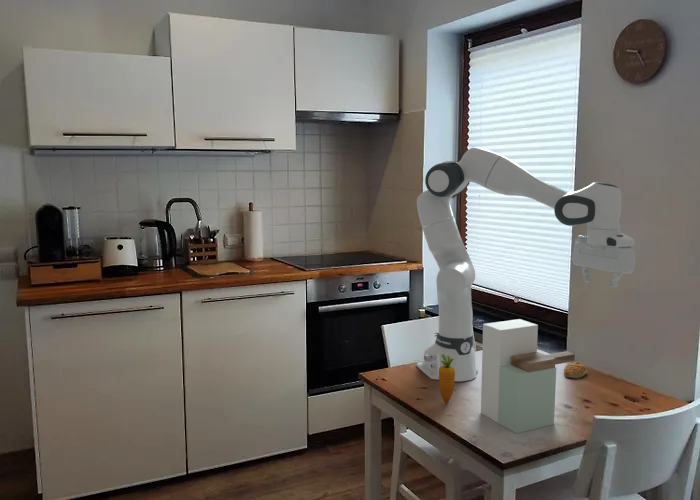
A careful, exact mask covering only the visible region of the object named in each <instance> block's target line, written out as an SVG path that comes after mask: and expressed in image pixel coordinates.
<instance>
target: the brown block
mask: <svg viewBox="0 0 700 500" xmlns="http://www.w3.org/2000/svg"><path fill="white" fill-rule="evenodd" d="M575 355H576V354H575V353H573V352H571V351H568V350H567V351H566V350H565V351H559V352H555V353H548V354H543V353H542V352H539V351H537V352H533V353H527V354H521V355H515V356H511V365H513V366H515V367H517V368H520V369H522V370H524V371H526V372H535V371H540V370H546V369H551V368H555V367H556V366H557V365H560V364H566V363H572V362H575V357H576V356H575Z"/></svg>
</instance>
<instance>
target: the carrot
mask: <svg viewBox="0 0 700 500" xmlns="http://www.w3.org/2000/svg"><path fill="white" fill-rule="evenodd" d="M442 357H443V359H444V360H443V361H442V360H441V362H442V363H443V364H444V365H445V366H441V367H440V368H439V380H438V381H439V382H438V385H439V391H440V395H441V399H442V401H443V403H444V404H445V405H447V404H448V403H449V402H450V400H451V398H452V395H453V392H454V387H455V381H454V380H455V370H454V368H453V367H451V366H450V364H451V362H452V361H453V358H451V359H450V356H447V358H448V362H447V359H446V356H445V354H442ZM444 362H445V363H444Z"/></svg>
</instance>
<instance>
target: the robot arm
mask: <svg viewBox="0 0 700 500" xmlns="http://www.w3.org/2000/svg"><path fill="white" fill-rule="evenodd" d="M424 180H425V181H424V183H425V186H426V189H427V190H425V191H423V192H421V193H420V194H419V195H418V196H417V198H416V209H417V214H418V218H419V222H420V225H421V228H422V231H423V235H424V238H425V240H426V243H427V247H428V249H429V250H428V251H430V252H431V254H432V256H433V258H434V260H435V262H436V264H437V266H438V268H439V270H438V273H437V276H436V294H437V295H436V296H437V303H438V304H437V305H438V332H435V333H434V337H436V339H435V342H434V343H433V344H431V346H428V348H425V350H424V353H423V360H421V361H418V362H417V363H416V367H417V368H418V369H419V370H420V371H422V373H424V374H425V375H426V376H427V377H428V378H429V379H431V380H437V381H439V368H440V367H441V366H445V365H444V364H443V363H442V362H441V360H442V361H443V360H444V359H443V357H442V354H445V356H446V359H447V362H448V358H447V356H450V359H451V358H453V361H452V362H451V364H450V366H451V367H453V368H454V370H455V380H454V382H467V381H471V380H473V379H476V377H477V373H478V372H479V368H478V367H476V366H477V363H476V350H475V348H474V347H473V346H474V340H475V339H474V334H473V304H472V286H473V284H474V282H475V280H476V270H475V267H474V265H473V262H472V260H471V258H470V255H469V253H468V251H467V248H466V246H465V244H464V242H463V239H462V237H461V233H460V231H459V228H458V225H457V222H456V218H455V217H454V213H453V210H452V207H451V200H452V199H455V197H457V196H458V195H459V194H461V193H462V192H464V191H465V190H466V189H467V188H468V187H469V185H470V183H475V184H477V185H479V186H481V187H483V188H484V189H487V190H489V191H491V192H494V193H498V194H499V195H504V196H513V197H514V196H517V197H519V196H520V197H524V198H529V199H532V200H533V201H534V200H535V201H536V202H539V203H541V204H543V205H545V206H548V207H550V208H552V209H553V210H554V216H555V217H556V219H557V221H559V223H561V224H563V225H565V226H569V227H575V226H579V225H585V224H586V225H587V227H586V228H587V229H586V232H587V233H586V235H582V234H581V235H578V236H577V237H576V238H575V239H574V246H573V248H572V249H573V250H572V255H571V261H572V263H573V265H574V266H577V267H579V266H580V267H581V272H582V274H583V276H584V279H583V280H584V282H585V283H592V282H593V276H592V275H591V273H590V270H591V269H595V270H600V271H606V272H612V275H613V276H614V277H613V279H612V280H609V287H610V288H618V287H619V281H620V280H621V278H622V277H623V275H628V274H632V273H633V272H634V271H635V269H636V252H635V249H634V248H633V247H634V246H635V245H636V241H635V239H634V238H633V237H630V236H629V235H627V234H625V233H623V232H621V224H620V217H621V214H622V193H621V190H620V188H619V187H618V186H617V185H616V184H612V183H609V182H608V183H607V182H604V181H594V182H591V184H589V185H588V186H586V187H583V188H582V189H579V190H576V191H566V190H563V189H561V188H558V187H556V186H554V185H552V184H549V183H547V182H545V181H543V180H540V179H539V178H537V177H536V176H534V175H532V174H531V173H530V172H529V171H527V170H526V169H525V168H523V167H522V166H520V165H519V164H518V163H516V162H514V161H513V160H511V159H509V158H507V157H506V156H504V155H501V154H499V153H496V152H494V151H491V150H488V149H484V148H481V147H471V148H469V149H468V150H466V151H465V152H464V153H463V156H462V157H461V159H460V160H459V161H458V160H449V161H443V162H440V163H437V164H434V165H433V166H432V167H431V168H429V170H428V171H427V172H426V174H425V179H424ZM444 363H445V362H444Z"/></svg>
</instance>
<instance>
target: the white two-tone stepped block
mask: <svg viewBox="0 0 700 500" xmlns="http://www.w3.org/2000/svg"><path fill="white" fill-rule="evenodd" d="M538 330H539V325H538V324H536V323H533V322H530V321H527V320H524V319H521V318H518V319H510V320H504V321H495V322H488V323H483V324H482V356H481V386H480V387H481V389H480V390H481V392H480V395H481V396H480V414H481V415H484V416H486V417H487V418H489V419H490V420H493V421H494V422H496V423H498V424H499V425H502V426H503V427H504V428H506V429H508V430H510V431H512V432H513V433H515V434H520V433H524V432H528V431H533V430H535V429H536V430H537V429H541V428H544V427H549V426H553V425H555V408H556V405H555V404H556V384H557V367H556V366H555V368H551V369H546V370H540V371H535V372H526V371H524V370H522V369H520V368H517V367H515V366H513V365H511V356H515V355H521V354H527V353H533V352H538V337H539V336H538V335H539V334H538V332H539V331H538Z"/></svg>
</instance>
